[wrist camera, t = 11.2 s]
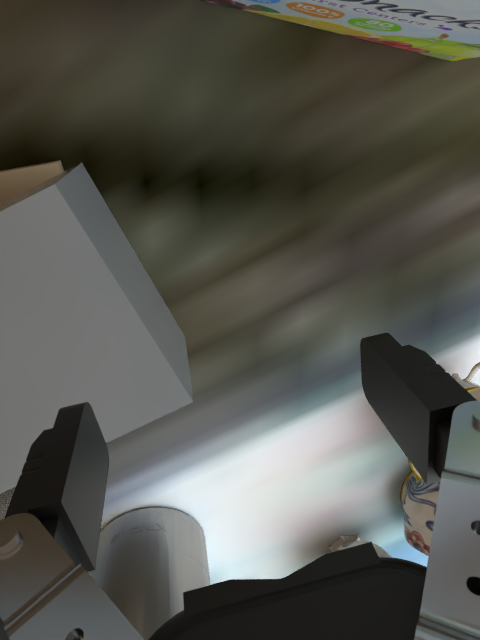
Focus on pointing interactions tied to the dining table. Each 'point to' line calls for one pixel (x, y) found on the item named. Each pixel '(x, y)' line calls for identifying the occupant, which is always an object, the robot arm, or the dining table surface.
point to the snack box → (385, 22)
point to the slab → (78, 321)
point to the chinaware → (415, 500)
